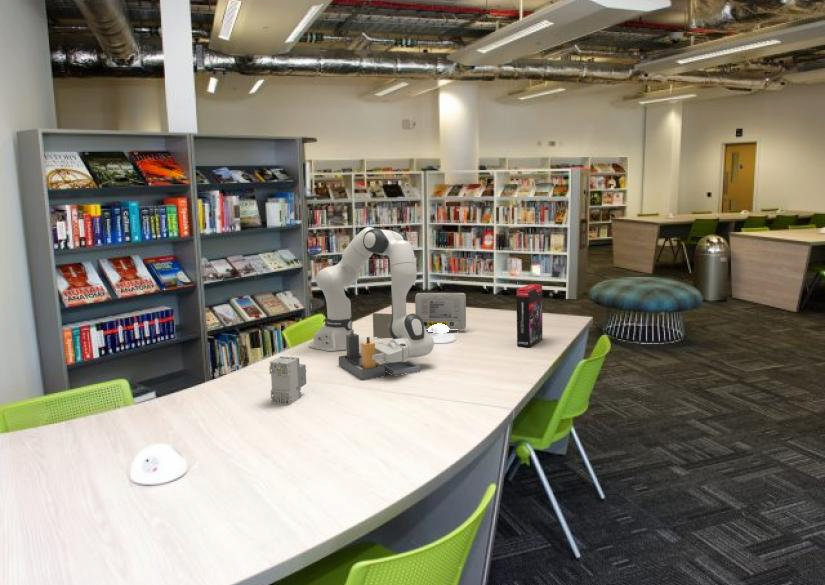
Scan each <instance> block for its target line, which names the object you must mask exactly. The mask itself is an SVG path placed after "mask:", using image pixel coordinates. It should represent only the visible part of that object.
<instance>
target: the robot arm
mask: <svg viewBox="0 0 825 585" xmlns="http://www.w3.org/2000/svg"><path fill="white" fill-rule="evenodd" d="M373 254H377V255H381V256H387V257H388V258H389V266H390V280H391V284H390V285H391V288H390V289H391V290H390V296H391V297H390V299H391V314H392V320H391V324H390V334H391V336H392V338H393V339H390V341H389V343H387V342H384V341H374V342H373V341H372V342H373V343H375V354H372V355H371V359H373V360H374V359H375V360H383V361H384V362H386V363H389V362H391V363H393V362H401V361H402V362H407V360H408V359H410V358H414V359H415V358H419V357H425V356H427V355H429V354H430V353H432V351H433V350H434V346H435V344H434V343H435V342H434V339H433V336H432V334H429V333H428V332H429V331H426V329H425V326H424V322H423V320H422V318H421V317H420V316H419V315H417V314H415V313H409V314H407V295H408V293H409V291H410V289H411V288H412V286H413V285H414V284H415V283H416V281H417V277H418V276H417V275H418V270H417V268H418V267H417V260H416V256H415V253H414V249H413V246H412V244H411V242H409V241H408V239H407V237H406V236H405V235H404V234H402V233H401V232H396V231H394V230H389V229H379V228H374V227H371V226H367V227H365V228H363V229H362V230H360V232H358V233H357V235H356V236H354V238H353V239H352V240H351V241H350V242H349V244H348V245H347V246H346V247H345V249H344V250H342V253H341V257H342V258H341V260H340V261H339V262H338V263H337V264H335V265H330V266H327V267H324V268H322V269H320V270H319V271H318V272H317V273H316V275H315V282H316V285H317V288H318V289H319V290H321V291H322V292H323V296H324V298H325V302H326V311H327V312H326V313H327V317H326V318H324V319H323V320H322V323H324V325H323V326H321V328H319V329H318V330H317V331H316V332H314V334H313V340H312V341H311V342H310V343H309V344H308V348H310V349H311V348H312V349H316V350H321V351H327V352H335V351H347V347H346V335H350V334H351V329H353V316H352V309H351V307H352V306H351V305H352V303H351V300H350V298H349V297H347V295H346V292H345V288H346V287H350V286H352V285H353V284H354V283H356V282H357V281H359V280H358V279H359V277H360V272H361V269H362V267H363V266H364V265H365V264H366V262H368V260H369V259H370V258H371V257H372V255H373ZM360 353H361V354H362V348H361V350H360ZM408 361H409V360H408Z"/></svg>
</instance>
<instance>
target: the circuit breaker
mask: <svg viewBox="0 0 825 585" xmlns="http://www.w3.org/2000/svg"><path fill="white" fill-rule="evenodd" d="M268 368H269V374H270V378H271V389H270V399H271V404H279V405H289V406H290V405H291V404H293V403H295V402H297V401H298V400H300V399H301V398H302V392H301V390H302V388H303V387H304V386H305V385H307V366H306V364H304V363H300V358H299V357H293V356H282V355H281V356H279V357H276V358H274V359H272V360H270V361H269V367H268Z"/></svg>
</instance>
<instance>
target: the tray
mask: <svg viewBox="0 0 825 585" xmlns="http://www.w3.org/2000/svg"><path fill="white" fill-rule="evenodd" d="M380 364H381V365H382V366H384V367H385V371H387V372H388V373H387V372H386V373H387V374H389V373H390V374H392V375H393V376H392V375H391V376H392V377H396V376H395V375H399V376H402V375H401V374H404V375H406V374H405V373H410V374H413V373H412V372H415V373H418V372H417V371H420V372H421V366H420V365H418V364H416V363H414V362H411V361H410V360H407V362H402V361H401V362H393V363H391V362H384V363H380ZM390 374H389V375H390Z"/></svg>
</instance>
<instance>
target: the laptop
mask: <svg viewBox="0 0 825 585" xmlns="http://www.w3.org/2000/svg"><path fill="white" fill-rule="evenodd" d="M391 320H392V313H381V312H379V313H378V312H373V313H372V327H373V329H372V331H373V332H372V334H373V338H374V337H377V338H376V339H382V338H392V336H391V334H390V324H391Z"/></svg>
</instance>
